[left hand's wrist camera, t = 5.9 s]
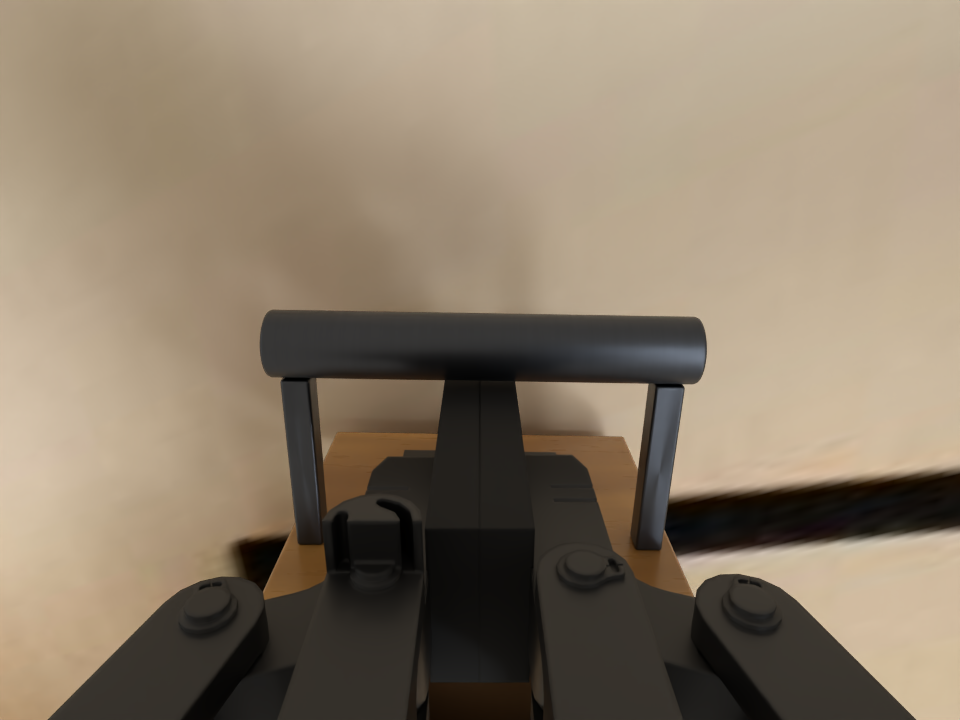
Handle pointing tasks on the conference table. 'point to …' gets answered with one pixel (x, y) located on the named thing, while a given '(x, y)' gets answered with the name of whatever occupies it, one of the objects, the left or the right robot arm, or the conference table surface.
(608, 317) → the drawer
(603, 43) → the conference table surface
